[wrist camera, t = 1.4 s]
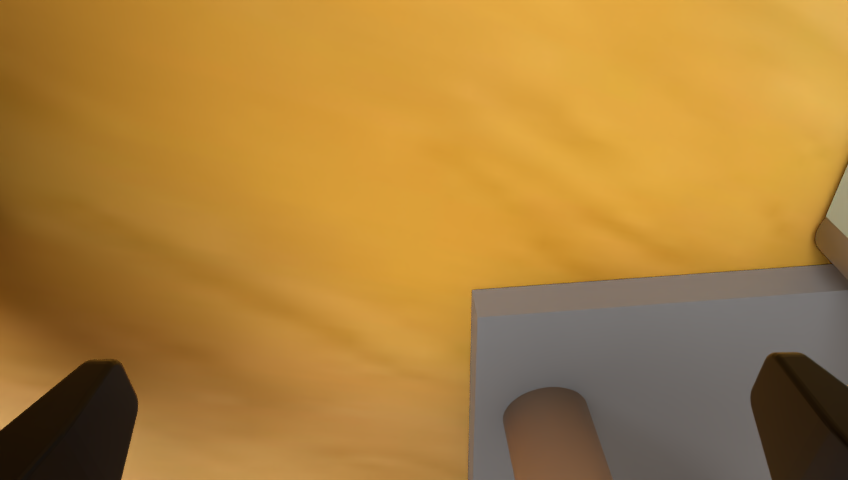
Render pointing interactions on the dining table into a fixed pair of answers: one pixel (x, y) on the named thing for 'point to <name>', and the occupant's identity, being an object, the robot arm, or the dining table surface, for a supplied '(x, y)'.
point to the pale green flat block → (836, 229)
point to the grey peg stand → (640, 372)
